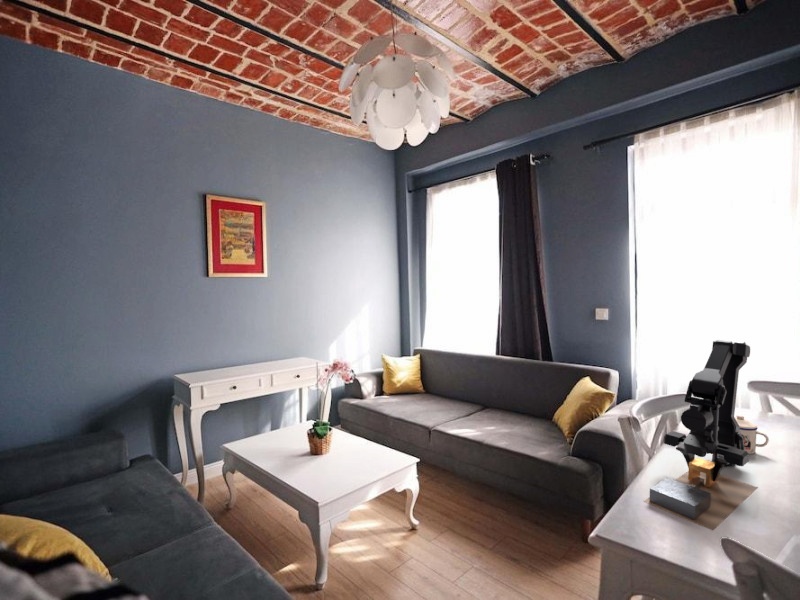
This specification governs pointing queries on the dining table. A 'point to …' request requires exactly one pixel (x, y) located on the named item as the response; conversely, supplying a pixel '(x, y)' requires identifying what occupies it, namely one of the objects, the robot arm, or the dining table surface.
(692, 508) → the grey flat rectangular block
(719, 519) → the walnut board
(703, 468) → the block
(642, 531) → the dining table surface
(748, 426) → the teacup with lid
